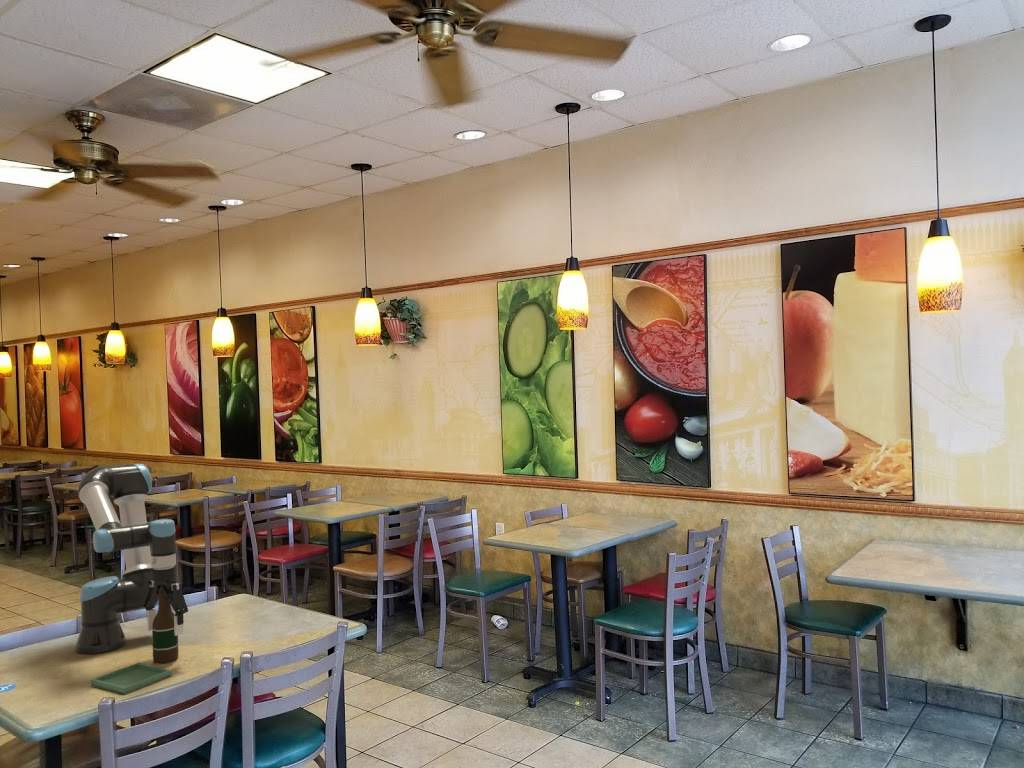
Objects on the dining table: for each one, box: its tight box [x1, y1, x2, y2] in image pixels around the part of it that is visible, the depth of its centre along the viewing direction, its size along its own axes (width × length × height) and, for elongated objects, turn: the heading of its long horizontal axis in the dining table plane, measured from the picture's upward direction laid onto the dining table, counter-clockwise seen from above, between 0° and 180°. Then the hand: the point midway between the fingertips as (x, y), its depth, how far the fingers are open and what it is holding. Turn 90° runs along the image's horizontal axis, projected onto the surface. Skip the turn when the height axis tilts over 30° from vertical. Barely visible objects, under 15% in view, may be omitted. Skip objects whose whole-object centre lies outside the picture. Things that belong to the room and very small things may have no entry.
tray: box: [90, 662, 172, 695], centre depth 238 cm, size 16×16×2 cm
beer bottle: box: [151, 588, 179, 665], centre depth 256 cm, size 8×8×24 cm
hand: (165, 631), depth 256 cm, fingers open, 13 cm apart
